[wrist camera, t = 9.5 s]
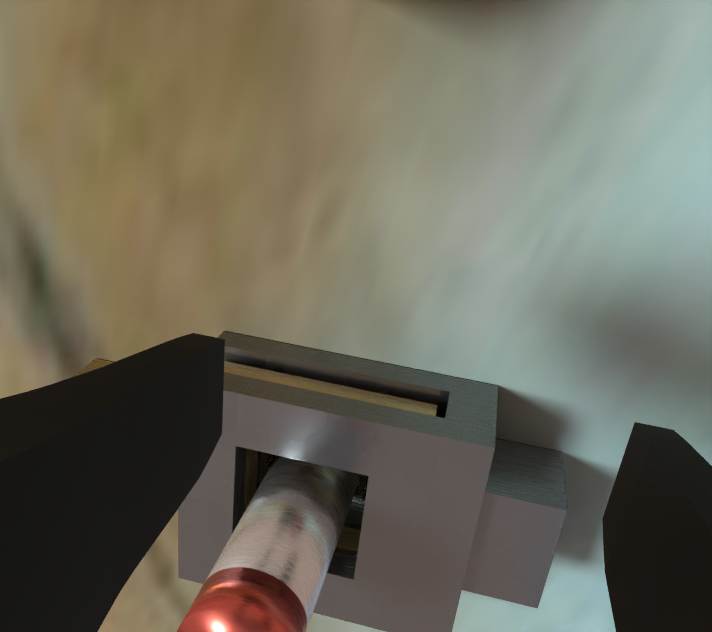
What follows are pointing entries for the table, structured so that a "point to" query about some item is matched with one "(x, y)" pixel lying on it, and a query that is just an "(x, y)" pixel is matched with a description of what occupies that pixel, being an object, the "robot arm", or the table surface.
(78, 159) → the table surface
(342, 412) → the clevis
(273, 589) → the clear red-capped cylinder
